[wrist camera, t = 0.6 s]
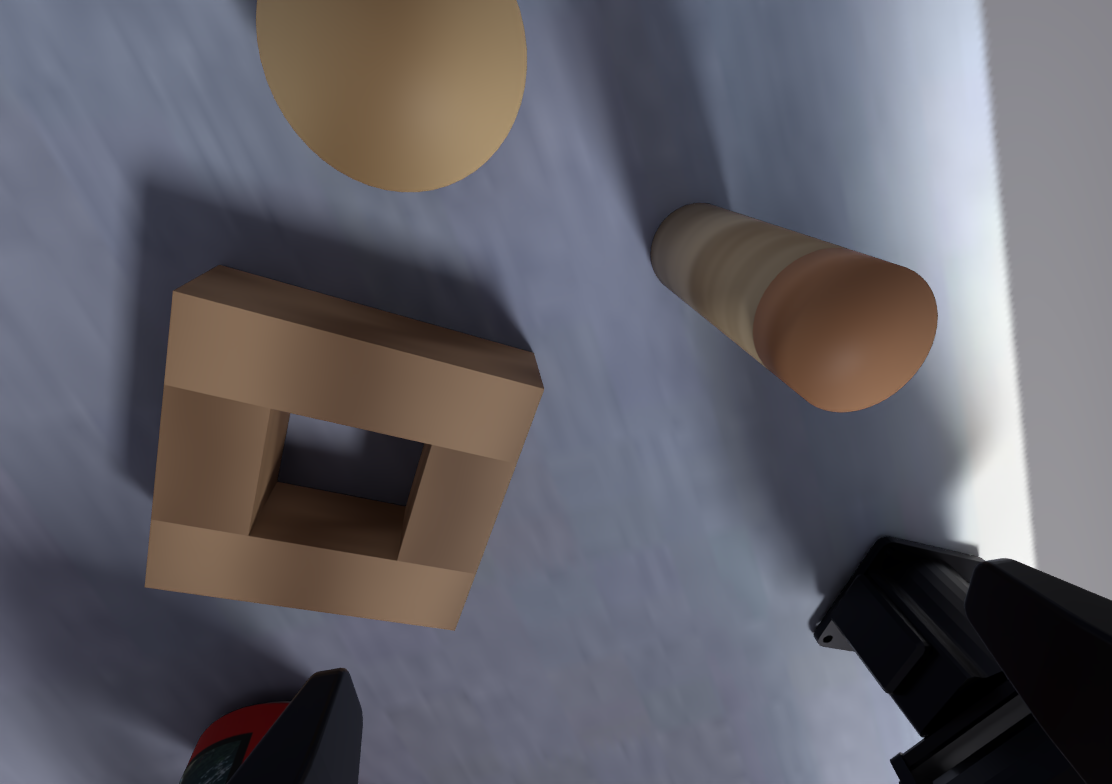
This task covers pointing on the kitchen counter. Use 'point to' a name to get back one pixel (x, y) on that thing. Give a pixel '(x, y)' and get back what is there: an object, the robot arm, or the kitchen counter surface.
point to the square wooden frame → (344, 398)
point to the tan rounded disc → (396, 83)
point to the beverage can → (230, 743)
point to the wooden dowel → (800, 304)
